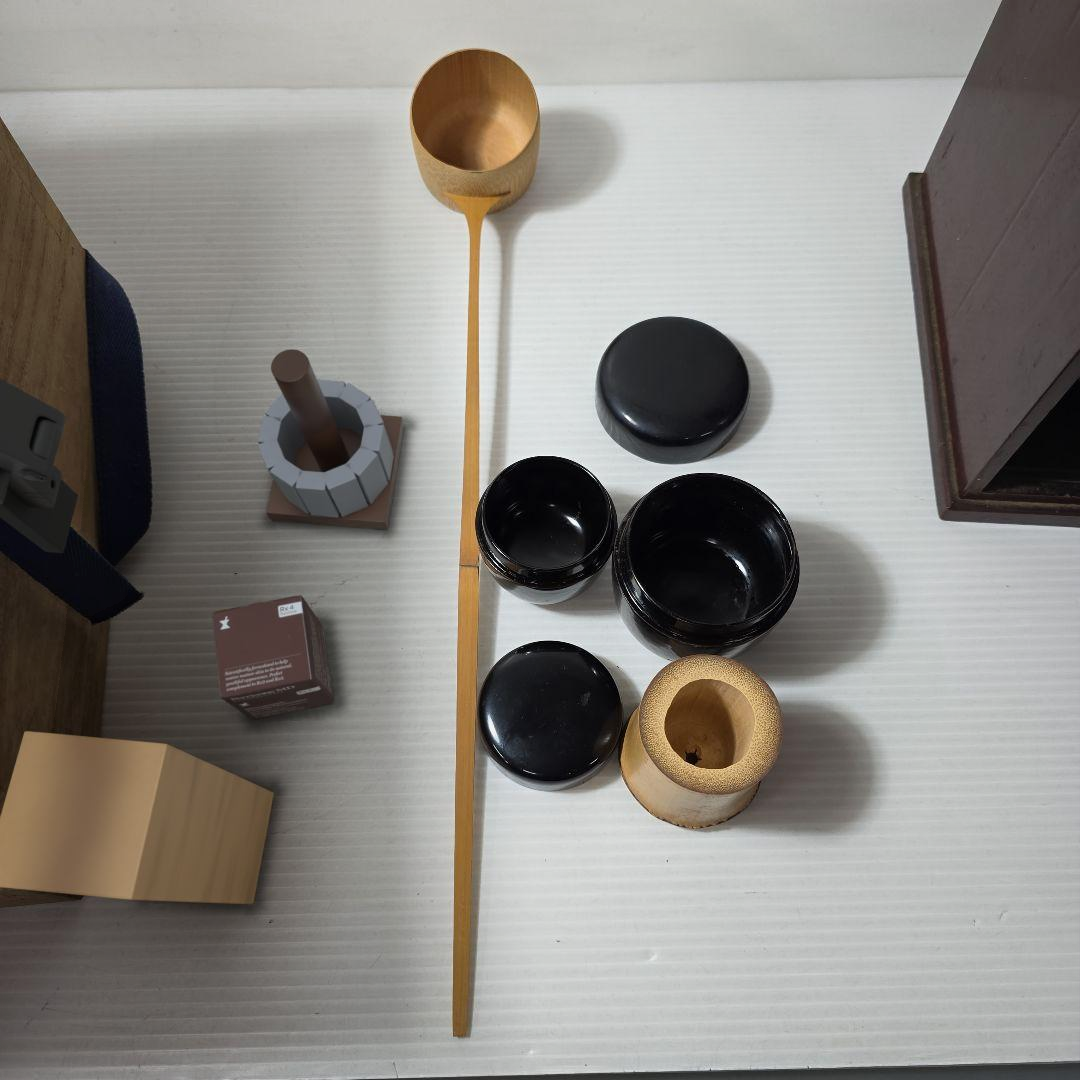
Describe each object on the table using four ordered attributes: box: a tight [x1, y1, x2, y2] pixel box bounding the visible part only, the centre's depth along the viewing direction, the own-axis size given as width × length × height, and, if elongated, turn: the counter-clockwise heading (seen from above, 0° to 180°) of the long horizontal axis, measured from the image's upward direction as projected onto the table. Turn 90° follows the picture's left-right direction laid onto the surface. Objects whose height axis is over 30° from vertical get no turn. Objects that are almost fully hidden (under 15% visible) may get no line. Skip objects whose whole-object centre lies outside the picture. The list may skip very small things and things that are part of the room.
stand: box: [0, 730, 275, 905], centre depth 55 cm, size 7×7×20 cm
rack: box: [265, 348, 405, 531], centre depth 67 cm, size 9×9×16 cm
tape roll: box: [257, 379, 394, 517], centre depth 71 cm, size 9×9×5 cm
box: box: [211, 594, 334, 720], centre depth 65 cm, size 6×6×7 cm
